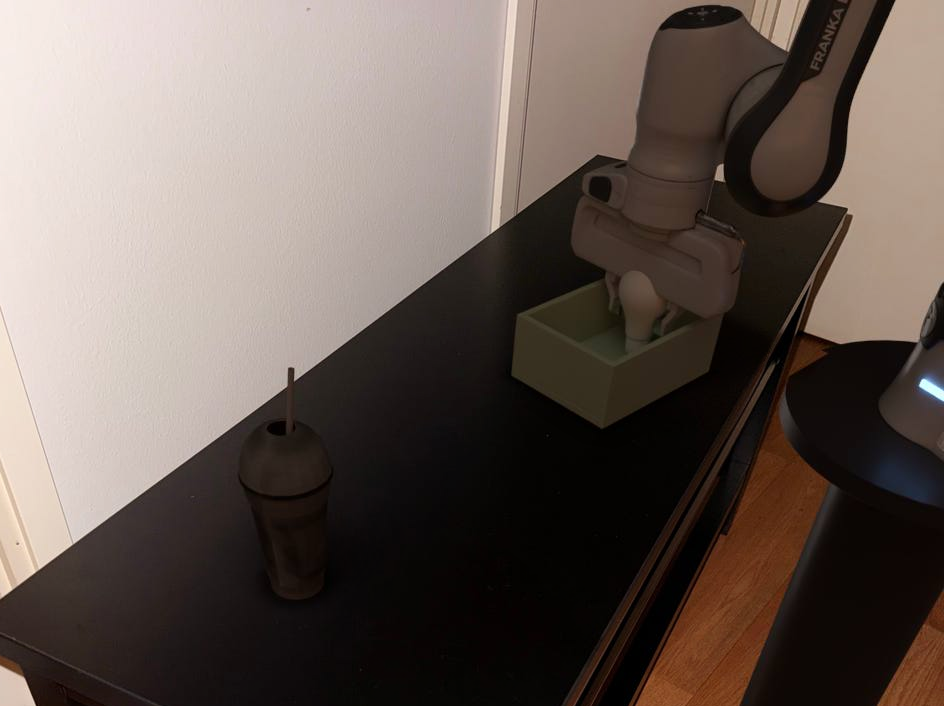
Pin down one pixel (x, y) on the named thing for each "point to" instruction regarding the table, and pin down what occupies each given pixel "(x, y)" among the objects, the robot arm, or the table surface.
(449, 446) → the table surface
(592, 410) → the bin
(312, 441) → the beverage cup
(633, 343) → the lightbulb
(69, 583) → the table surface
